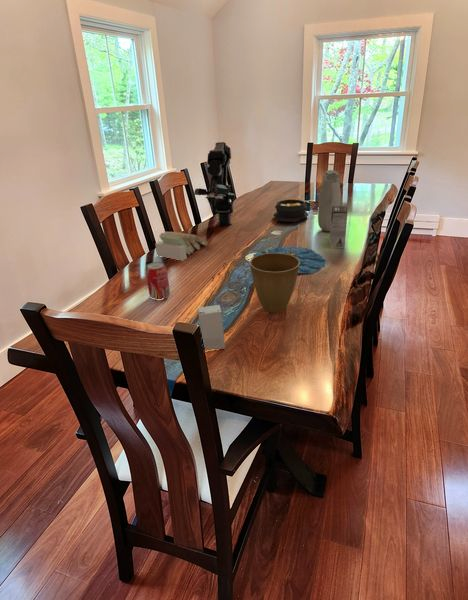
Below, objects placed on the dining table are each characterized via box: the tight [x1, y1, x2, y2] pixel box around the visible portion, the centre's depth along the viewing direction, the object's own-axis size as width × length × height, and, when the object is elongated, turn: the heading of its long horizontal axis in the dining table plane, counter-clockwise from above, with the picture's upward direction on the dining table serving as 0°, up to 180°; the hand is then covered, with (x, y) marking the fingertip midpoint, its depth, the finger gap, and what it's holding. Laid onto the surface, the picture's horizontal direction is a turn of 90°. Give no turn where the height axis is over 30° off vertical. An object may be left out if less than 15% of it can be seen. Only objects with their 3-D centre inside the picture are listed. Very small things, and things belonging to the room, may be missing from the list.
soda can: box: [145, 261, 171, 299], centre depth 136 cm, size 7×7×12 cm
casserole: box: [273, 199, 309, 223], centre depth 213 cm, size 25×19×8 cm
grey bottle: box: [317, 169, 342, 232], centre depth 187 cm, size 10×10×28 cm
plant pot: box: [249, 253, 300, 314], centre depth 124 cm, size 15×15×16 cm
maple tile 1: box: [176, 231, 209, 247], centre depth 181 cm, size 2×10×11 cm
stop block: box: [155, 241, 188, 262], centre depth 170 cm, size 3×14×6 cm, turn 58°
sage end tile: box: [159, 232, 192, 256], centre depth 171 cm, size 2×10×11 cm
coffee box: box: [329, 205, 348, 249], centre depth 172 cm, size 9×6×16 cm
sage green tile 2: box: [171, 231, 201, 251], centre depth 176 cm, size 2×10×11 cm
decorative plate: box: [252, 245, 327, 274], centre depth 161 cm, size 30×30×5 cm
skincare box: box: [197, 304, 226, 351], centre depth 106 cm, size 6×4×12 cm
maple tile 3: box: [163, 231, 195, 254], centre depth 173 cm, size 2×10×11 cm
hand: (213, 213), depth 188 cm, fingers closed
